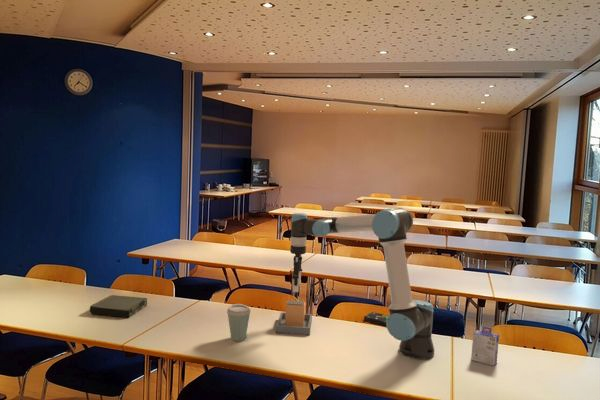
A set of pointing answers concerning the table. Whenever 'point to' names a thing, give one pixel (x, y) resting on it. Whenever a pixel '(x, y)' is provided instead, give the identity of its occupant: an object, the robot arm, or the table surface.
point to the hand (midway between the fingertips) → (296, 288)
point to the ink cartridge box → (485, 346)
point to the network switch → (118, 306)
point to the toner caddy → (295, 313)
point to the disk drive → (376, 318)
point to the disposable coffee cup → (238, 321)
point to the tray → (294, 329)
